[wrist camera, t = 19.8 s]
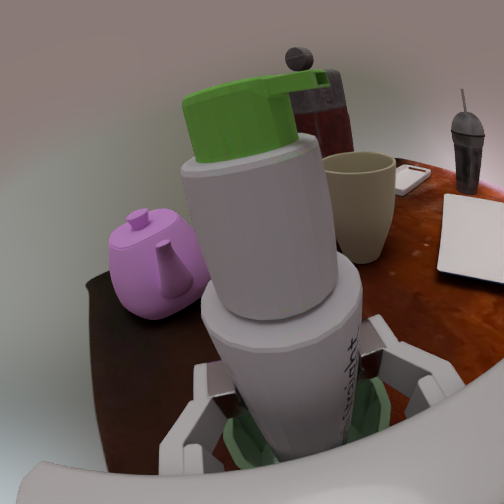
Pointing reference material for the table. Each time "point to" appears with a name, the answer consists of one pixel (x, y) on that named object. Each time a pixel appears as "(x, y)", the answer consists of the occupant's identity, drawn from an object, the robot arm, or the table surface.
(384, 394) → the green cup
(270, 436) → the bottle
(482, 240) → the plate
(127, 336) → the table surface
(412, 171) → the phone case
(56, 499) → the robot arm
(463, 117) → the beverage cup
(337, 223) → the mug
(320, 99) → the red grey decanter
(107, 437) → the table surface
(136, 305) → the teapot
